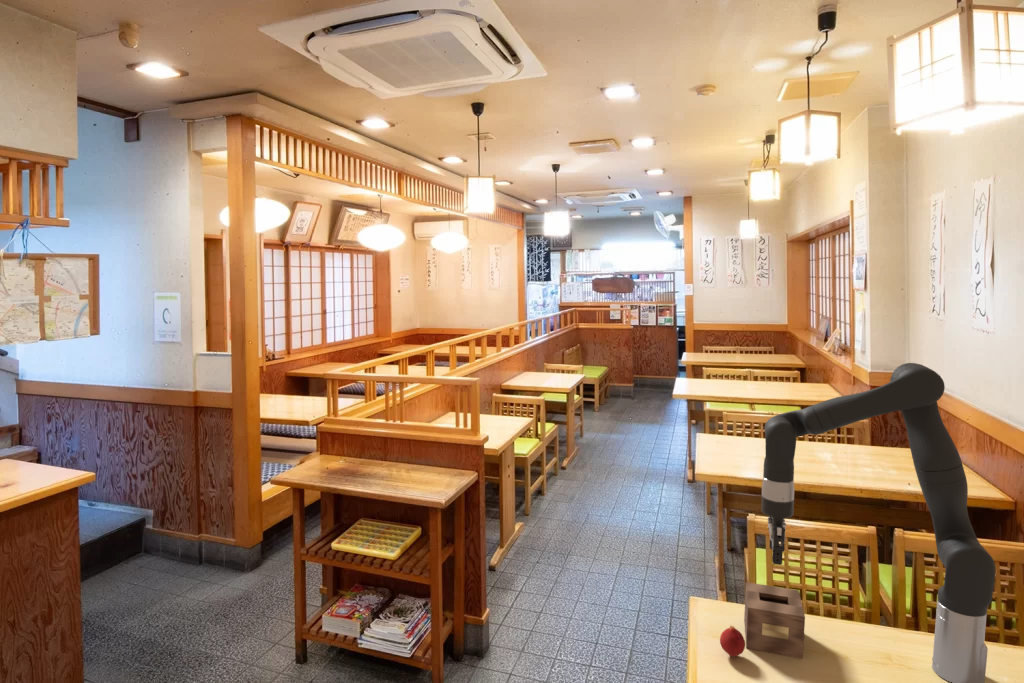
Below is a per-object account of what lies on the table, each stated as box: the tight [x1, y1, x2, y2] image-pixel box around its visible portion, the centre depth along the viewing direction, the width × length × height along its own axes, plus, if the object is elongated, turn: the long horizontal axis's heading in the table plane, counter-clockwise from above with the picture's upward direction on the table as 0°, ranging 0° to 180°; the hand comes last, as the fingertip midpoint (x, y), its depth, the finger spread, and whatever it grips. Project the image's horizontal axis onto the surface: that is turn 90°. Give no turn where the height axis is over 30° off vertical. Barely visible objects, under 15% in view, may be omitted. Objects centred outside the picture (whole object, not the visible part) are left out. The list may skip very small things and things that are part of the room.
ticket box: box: [743, 581, 806, 660], centre depth 153 cm, size 13×13×11 cm
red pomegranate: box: [719, 625, 746, 658], centre depth 146 cm, size 6×6×8 cm
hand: (775, 556), depth 151 cm, fingers open, 8 cm apart
